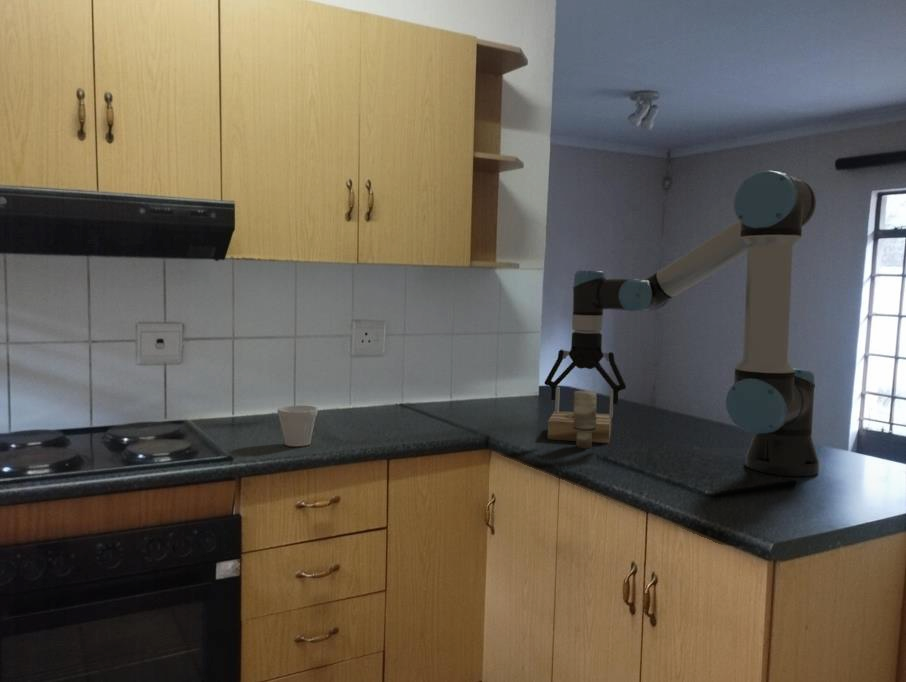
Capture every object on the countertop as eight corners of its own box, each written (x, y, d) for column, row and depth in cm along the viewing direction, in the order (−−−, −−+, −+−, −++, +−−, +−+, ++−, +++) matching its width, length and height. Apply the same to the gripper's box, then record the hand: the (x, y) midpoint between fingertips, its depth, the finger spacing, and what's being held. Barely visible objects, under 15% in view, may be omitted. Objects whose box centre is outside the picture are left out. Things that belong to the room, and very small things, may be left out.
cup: (324, 442, 184) (324, 406, 183) (306, 450, 174) (306, 413, 173) (289, 439, 186) (289, 404, 186) (270, 447, 177) (269, 410, 176)
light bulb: (594, 449, 179) (596, 394, 178) (571, 448, 180) (573, 393, 179) (595, 444, 184) (597, 391, 183) (573, 443, 186) (575, 390, 184)
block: (608, 443, 186) (609, 424, 186) (547, 439, 190) (548, 420, 190) (610, 431, 201) (611, 414, 200) (554, 428, 205) (554, 411, 204)
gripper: (637, 332, 180) (634, 415, 182) (539, 328, 186) (536, 408, 188) (637, 334, 173) (633, 421, 175) (535, 330, 179) (532, 413, 181)
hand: (583, 414), depth 182 cm, fingers open, 13 cm apart
